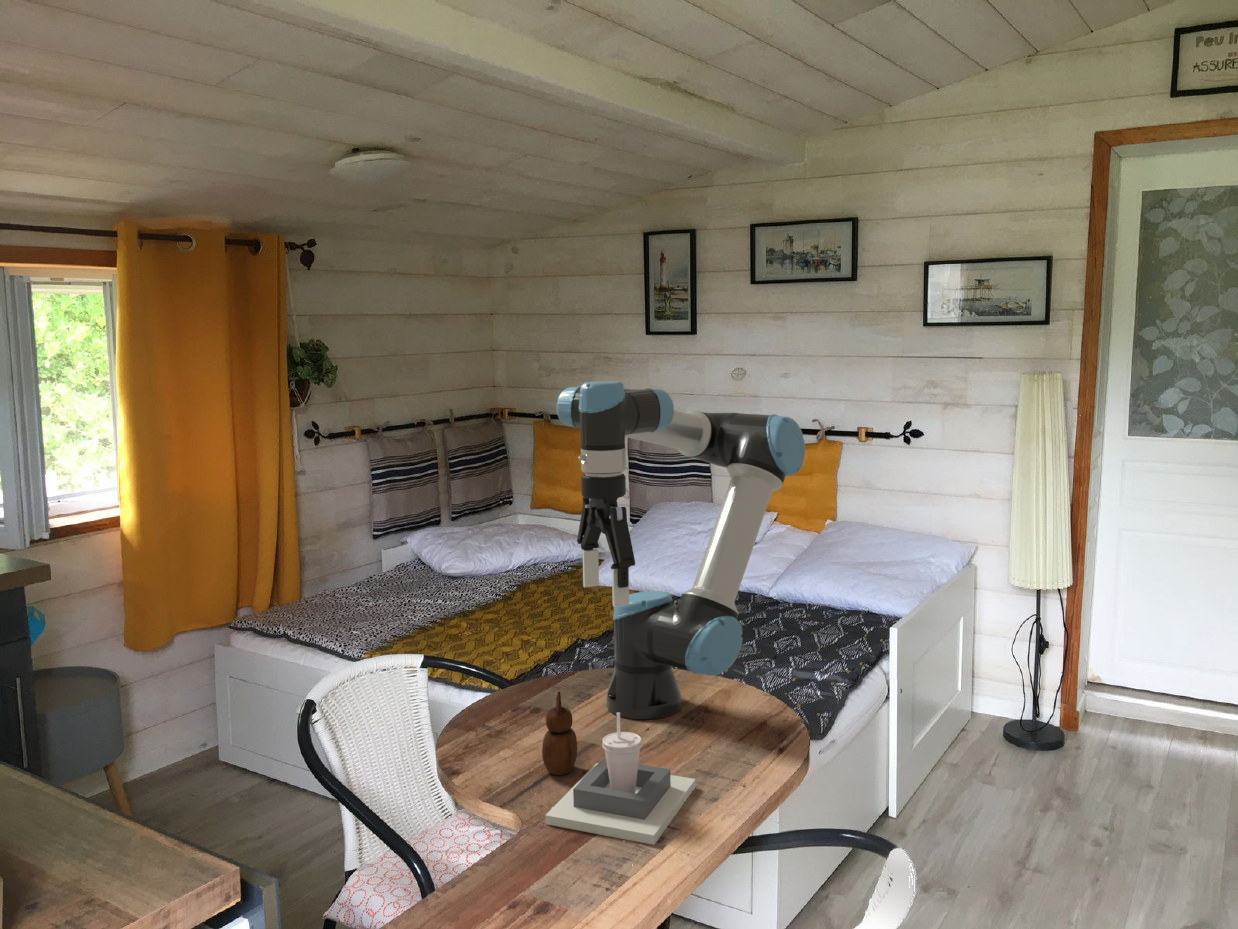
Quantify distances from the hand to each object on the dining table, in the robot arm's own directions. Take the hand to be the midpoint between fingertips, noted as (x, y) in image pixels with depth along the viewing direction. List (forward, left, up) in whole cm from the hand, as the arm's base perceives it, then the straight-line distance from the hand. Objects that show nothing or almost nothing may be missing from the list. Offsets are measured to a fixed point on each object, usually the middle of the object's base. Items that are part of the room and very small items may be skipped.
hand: (605, 595), depth 176 cm
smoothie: (+13, +8, -29) cm, 33 cm away
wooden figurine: (+5, -7, -31) cm, 32 cm away
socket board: (+13, +8, -31) cm, 34 cm away
